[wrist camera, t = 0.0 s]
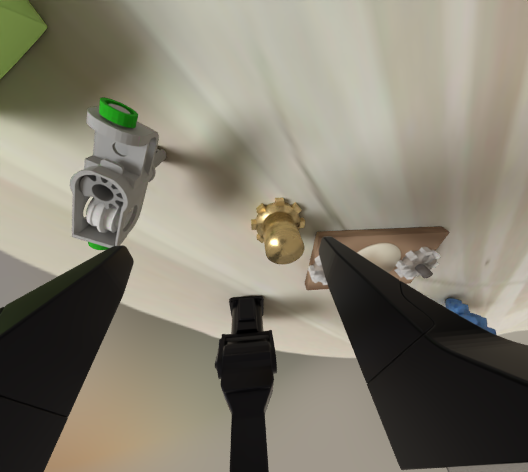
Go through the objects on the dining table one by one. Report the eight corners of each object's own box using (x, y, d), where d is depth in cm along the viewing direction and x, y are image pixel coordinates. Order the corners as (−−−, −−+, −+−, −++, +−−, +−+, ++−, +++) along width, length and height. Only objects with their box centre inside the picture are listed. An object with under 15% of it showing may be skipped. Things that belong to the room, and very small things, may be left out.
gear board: (408, 276, 36) (425, 296, 33) (301, 283, 35) (307, 305, 31) (445, 226, 29) (473, 244, 26) (312, 231, 27) (322, 252, 24)
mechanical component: (188, 111, 17) (143, 126, 9) (161, 199, 22) (116, 257, 14) (154, 90, 16) (70, 87, 8) (133, 187, 21) (68, 244, 13)
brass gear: (299, 240, 28) (310, 270, 24) (252, 242, 28) (253, 273, 23) (306, 197, 24) (322, 222, 19) (250, 198, 23) (252, 225, 19)
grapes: (417, 302, 43) (467, 361, 34) (447, 286, 40) (511, 346, 30) (441, 313, 48) (490, 368, 38) (469, 299, 44) (531, 355, 35)
